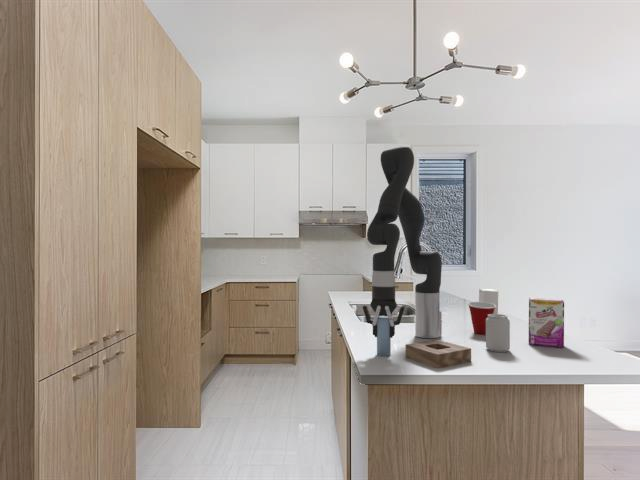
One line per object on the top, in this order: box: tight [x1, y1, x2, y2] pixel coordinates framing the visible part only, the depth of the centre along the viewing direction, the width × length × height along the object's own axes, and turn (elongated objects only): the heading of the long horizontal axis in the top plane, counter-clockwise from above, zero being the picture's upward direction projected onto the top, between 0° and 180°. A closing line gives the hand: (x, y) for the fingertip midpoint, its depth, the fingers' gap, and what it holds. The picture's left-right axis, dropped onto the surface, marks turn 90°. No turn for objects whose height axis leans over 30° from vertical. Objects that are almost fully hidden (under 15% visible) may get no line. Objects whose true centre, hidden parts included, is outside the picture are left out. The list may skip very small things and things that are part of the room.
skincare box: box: [478, 288, 499, 314], centre depth 191 cm, size 8×7×16 cm
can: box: [485, 313, 511, 353], centre depth 144 cm, size 8×8×12 cm
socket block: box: [405, 339, 472, 369], centre depth 133 cm, size 14×14×4 cm
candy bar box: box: [528, 297, 565, 349], centre depth 151 cm, size 11×5×16 cm, turn 65°
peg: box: [376, 316, 392, 357], centre depth 138 cm, size 4×4×12 cm
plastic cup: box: [467, 301, 496, 336], centre depth 171 cm, size 11×11×12 cm
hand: (383, 336), depth 138 cm, fingers closed on peg, 4 cm apart
